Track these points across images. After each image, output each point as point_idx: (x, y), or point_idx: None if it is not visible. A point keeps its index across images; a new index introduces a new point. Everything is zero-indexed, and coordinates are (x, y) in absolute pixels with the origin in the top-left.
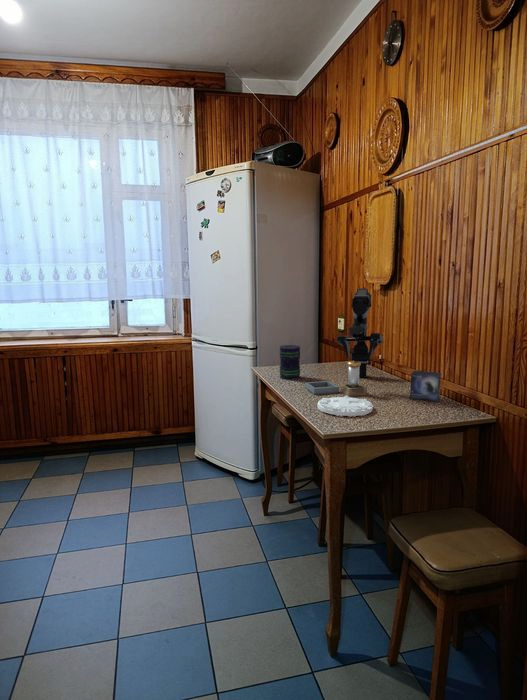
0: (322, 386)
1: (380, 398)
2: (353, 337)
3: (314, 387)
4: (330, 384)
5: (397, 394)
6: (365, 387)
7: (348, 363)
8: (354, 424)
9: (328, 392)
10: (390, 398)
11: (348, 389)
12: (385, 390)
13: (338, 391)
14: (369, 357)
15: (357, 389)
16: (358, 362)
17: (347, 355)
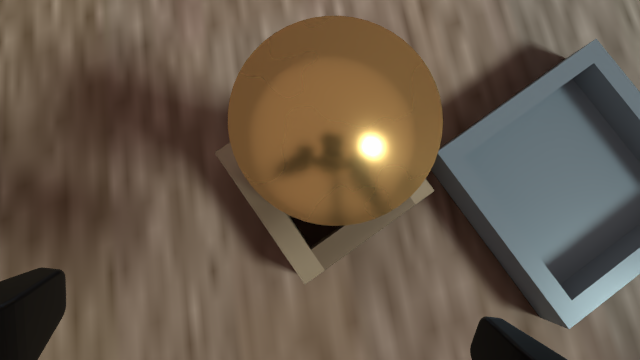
0: (577, 264)
1: (128, 98)
2: None
3: (605, 75)
4: (523, 240)
5: (15, 243)
6: (225, 154)
7: (409, 51)
8: None
9: (487, 114)
10: (62, 118)
11: None
12: (104, 338)
13: None
14: (45, 269)
15: None
16: (266, 138)
17: (535, 349)
